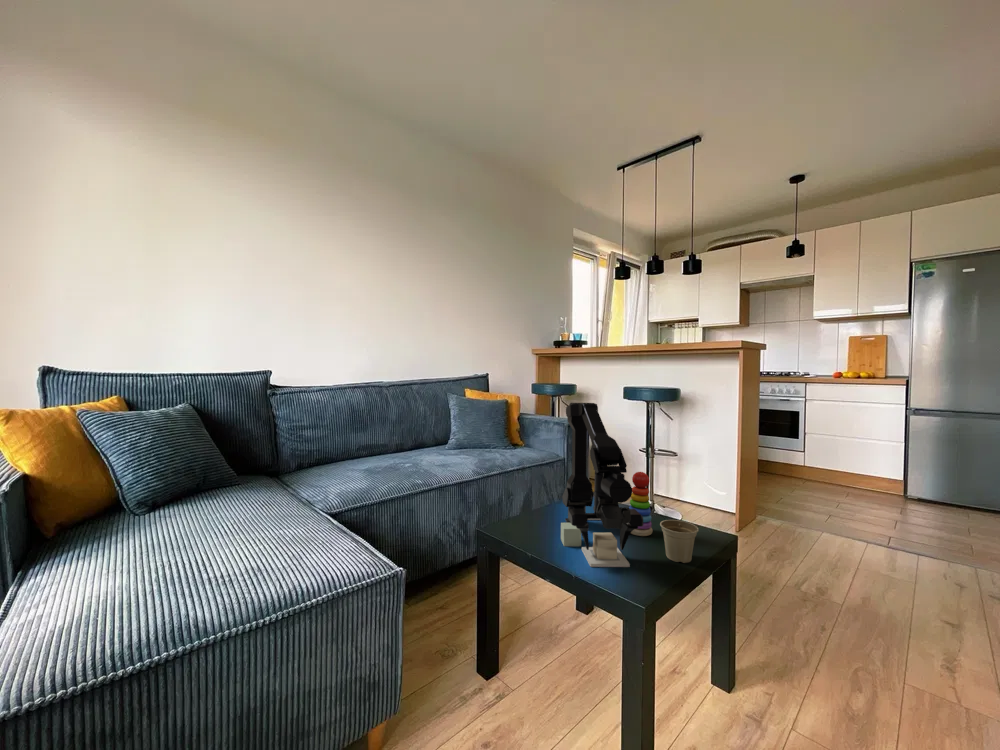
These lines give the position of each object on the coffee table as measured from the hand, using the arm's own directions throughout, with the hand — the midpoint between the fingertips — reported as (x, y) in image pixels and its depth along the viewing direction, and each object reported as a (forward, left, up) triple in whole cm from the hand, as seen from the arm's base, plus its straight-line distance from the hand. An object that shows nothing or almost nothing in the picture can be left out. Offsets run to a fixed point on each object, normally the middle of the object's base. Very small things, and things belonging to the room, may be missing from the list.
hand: (604, 549), depth 108 cm
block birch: (0, 0, -2) cm, 2 cm away
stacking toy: (-18, +16, -2) cm, 24 cm away
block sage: (-10, -7, -2) cm, 12 cm away
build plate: (0, 0, -2) cm, 2 cm away
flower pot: (0, +20, -2) cm, 20 cm away
